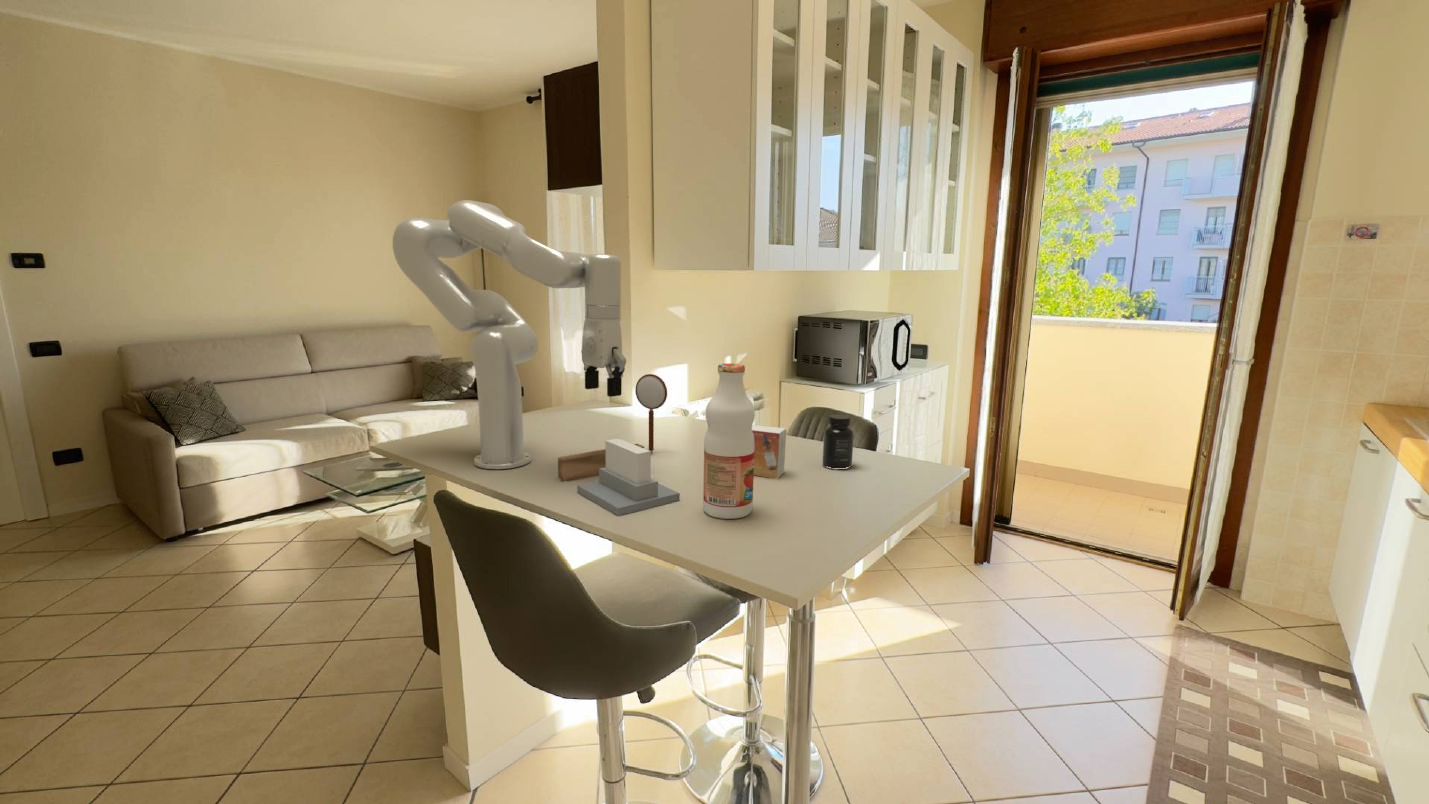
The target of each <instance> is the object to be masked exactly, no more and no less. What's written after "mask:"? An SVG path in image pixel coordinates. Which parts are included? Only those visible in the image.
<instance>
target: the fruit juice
mask: <svg viewBox="0 0 1429 804" xmlns="http://www.w3.org/2000/svg"><path fill="white" fill-rule="evenodd" d="M745 371H746V367H745V365H744V364H741V363H730V362H729V363H727V362H726V363H720V364H718V366H717V373H718V375H719V379H718V384H717V387H716V390H715V392H714V395H713V397H711V399H710V400H709V402H707V405H706V407H705V420H706V423H707V429H706V431H705V436H704V440H703V441H704V443H703V484H702V485H703V488H702V489H703V490H702V491H703V492H702V494H703V495H702V497H703V498H702V505H703V511H704V513H706V514H707V516H710V517H714V518H718V519H721V520H722V519H723V520H734V519H736V520H737V519H741V518H745V517H747V516H749V515H750V514H751V513H752V510H753V502H754V501H753V500H754V496H753V495H754V476H755V475H754V451H755V442H754V435H753V432H752V425H754V421H755V417H756V413H755V412H756V411H755V407H754V404H753V402H752V401H751V400H750V398H749V397H748V394H747V393H746V389H745V385H744V379H743V378H744V375H745Z"/></svg>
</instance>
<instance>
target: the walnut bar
mask: <svg viewBox="0 0 1429 804" xmlns="http://www.w3.org/2000/svg"><path fill="white" fill-rule="evenodd" d="M634 445H636V446H639V447H641V448H644V449H645V445H644V446H643V445H641V444H640V443H634ZM604 467H606V448H605V449H598V450H593V451H587V452H582V453H575V454H569V455H565V456H564V455H563V456H558V457H557V475H558V476H557V479H559V478H560V479H561V480H560V479H559V480H560V481H562V482H564V481H567V482H570V481H571V482H572V481H577V480H582V479H586V478H592V477H596V476H598V477H599V468H604Z"/></svg>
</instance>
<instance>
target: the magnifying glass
mask: <svg viewBox="0 0 1429 804" xmlns="http://www.w3.org/2000/svg"><path fill="white" fill-rule="evenodd" d="M635 396H636V399H637V401H638V402H639V404H641V406H642V407H644V408H646V409H649V410H648V450H649V451H651V455H652V454H653V453H654V452H653V451H654V449H655V447H654V441H655V439H654V438H655V437H654V434H655V433H654V429H655V428H654V425H655V424H654V422H655V421H654V418H655V417H654V416H655V415H654V410H657V409H660V408H661V407H663V405H664V404H665V403H666V401H667V397H668V388H667V386H666V383H665V381H664V380H663V379H662V378H661V377H660V376H658V375H656V374H653V373H647V374H644V375H642V376H641V377H640V378H639V379H638V380H637V383H636V384H635Z"/></svg>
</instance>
